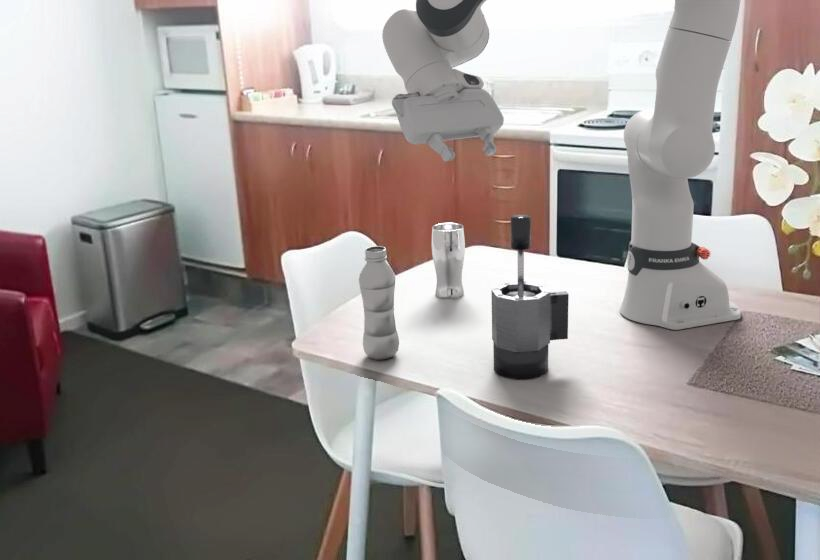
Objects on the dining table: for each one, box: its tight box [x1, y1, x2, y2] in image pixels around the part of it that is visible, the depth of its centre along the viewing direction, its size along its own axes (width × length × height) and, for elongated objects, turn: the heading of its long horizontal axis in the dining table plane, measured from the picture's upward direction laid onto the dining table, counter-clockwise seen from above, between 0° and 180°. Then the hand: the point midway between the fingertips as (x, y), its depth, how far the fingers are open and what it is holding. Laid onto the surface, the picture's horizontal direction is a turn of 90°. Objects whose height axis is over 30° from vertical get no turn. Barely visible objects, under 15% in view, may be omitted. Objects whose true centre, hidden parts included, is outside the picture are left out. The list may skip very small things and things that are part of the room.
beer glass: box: [431, 222, 466, 300], centre depth 180 cm, size 7×7×15 cm
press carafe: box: [491, 280, 569, 381], centre depth 143 cm, size 12×9×14 cm
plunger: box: [506, 214, 536, 298], centre depth 139 cm, size 5×5×14 cm
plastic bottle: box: [358, 245, 400, 360], centre depth 150 cm, size 6×7×20 cm
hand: (471, 156), depth 144 cm, fingers open, 8 cm apart
